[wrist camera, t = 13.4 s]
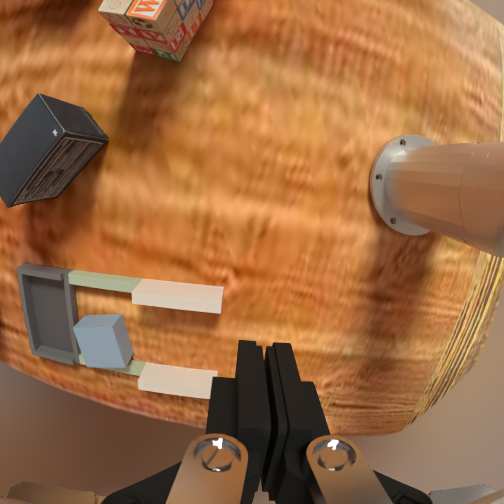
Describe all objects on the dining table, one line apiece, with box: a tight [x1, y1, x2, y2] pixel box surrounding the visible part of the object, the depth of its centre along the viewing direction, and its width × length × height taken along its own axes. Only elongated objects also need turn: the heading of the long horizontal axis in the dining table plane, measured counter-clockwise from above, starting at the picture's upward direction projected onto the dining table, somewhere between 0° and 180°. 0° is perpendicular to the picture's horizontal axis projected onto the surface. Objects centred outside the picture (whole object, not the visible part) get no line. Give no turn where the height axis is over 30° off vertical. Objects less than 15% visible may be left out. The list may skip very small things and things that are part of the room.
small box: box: [0, 93, 109, 208], centre depth 28 cm, size 11×6×10 cm, turn 129°
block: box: [73, 314, 134, 368], centre depth 37 cm, size 6×6×4 cm
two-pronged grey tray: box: [17, 263, 224, 399], centre depth 37 cm, size 29×14×4 cm, turn 84°
